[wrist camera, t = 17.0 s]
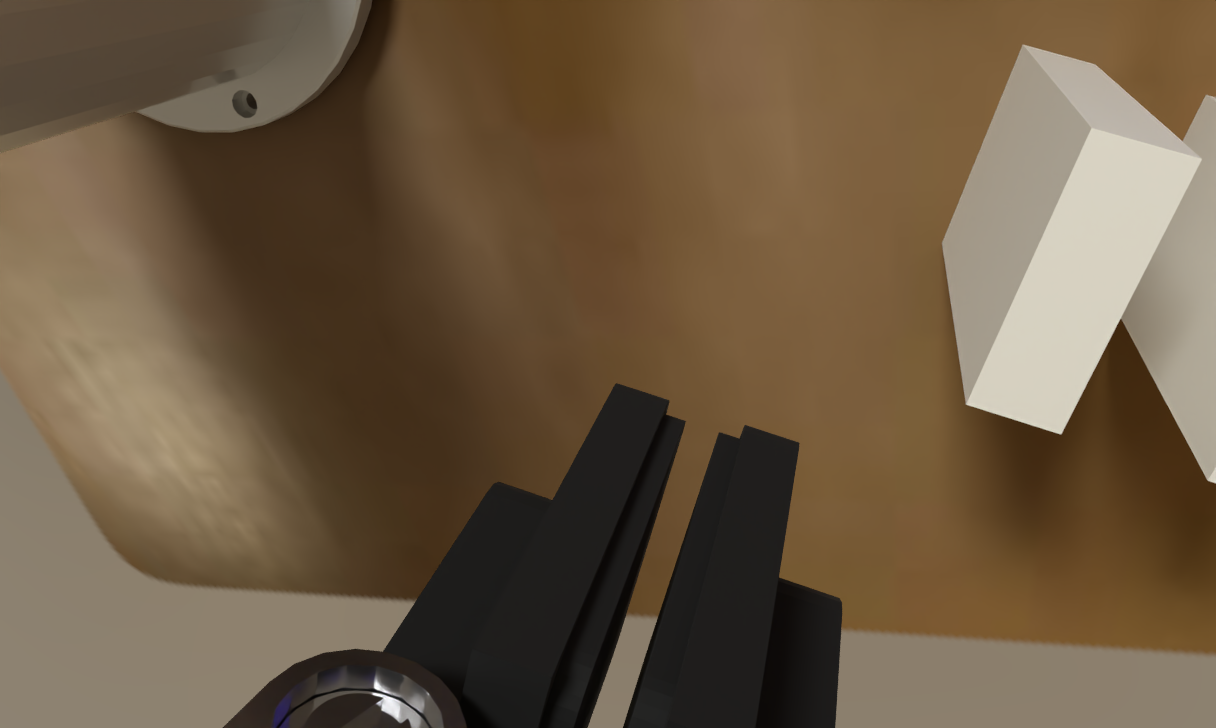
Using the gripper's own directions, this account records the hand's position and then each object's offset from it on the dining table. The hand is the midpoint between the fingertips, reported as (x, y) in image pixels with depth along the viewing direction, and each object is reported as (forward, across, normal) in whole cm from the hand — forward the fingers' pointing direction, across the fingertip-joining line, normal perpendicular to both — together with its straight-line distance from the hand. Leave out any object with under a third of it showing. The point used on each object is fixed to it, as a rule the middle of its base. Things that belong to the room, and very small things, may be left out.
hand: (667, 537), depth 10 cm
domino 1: (+23, -6, 0) cm, 24 cm away
